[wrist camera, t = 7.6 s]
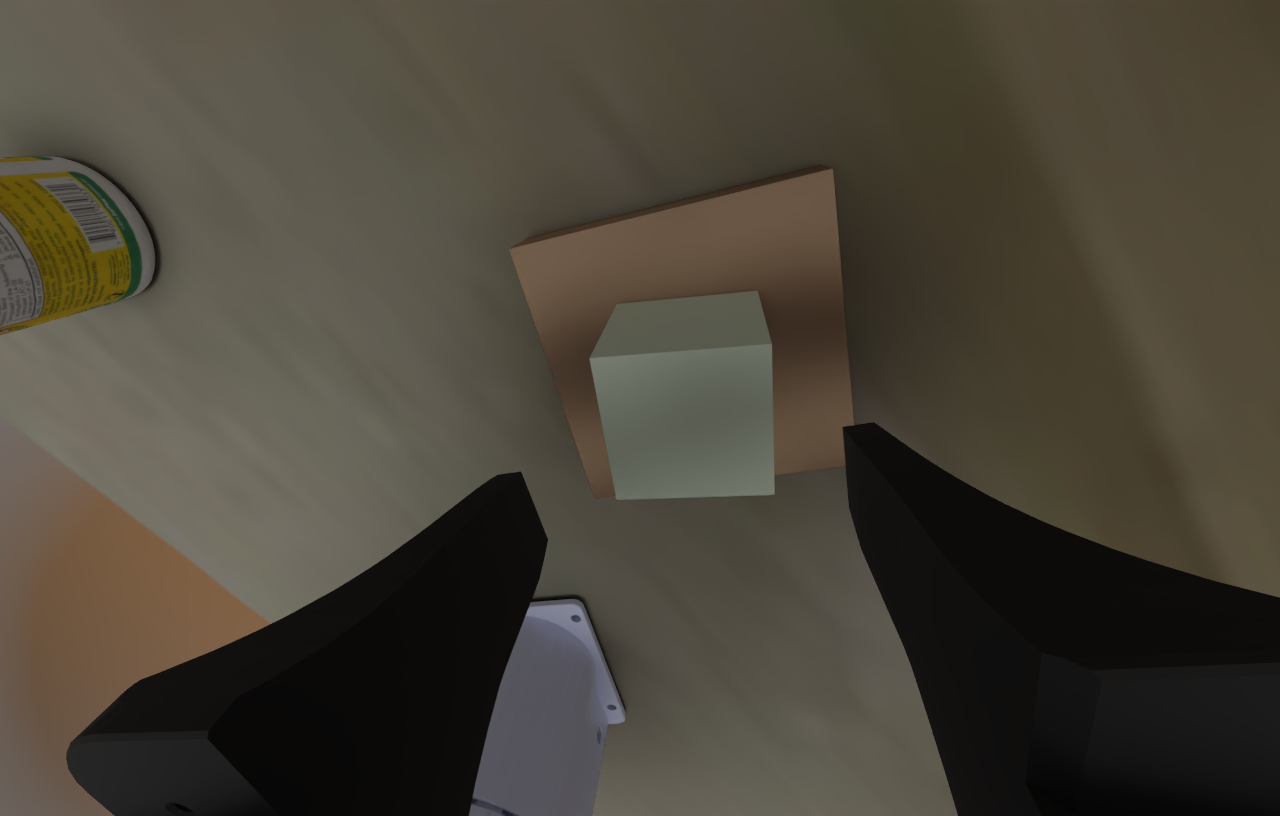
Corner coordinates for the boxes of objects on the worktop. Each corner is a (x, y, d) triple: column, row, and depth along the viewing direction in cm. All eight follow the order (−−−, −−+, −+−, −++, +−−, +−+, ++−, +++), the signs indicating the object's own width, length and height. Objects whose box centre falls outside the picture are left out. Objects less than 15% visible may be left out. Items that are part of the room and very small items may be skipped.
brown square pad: (842, 430, 21) (857, 464, 19) (606, 464, 23) (594, 498, 21) (817, 163, 17) (832, 168, 15) (532, 235, 19) (509, 248, 17)
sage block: (761, 415, 19) (774, 495, 15) (635, 422, 19) (616, 500, 15) (757, 290, 17) (771, 343, 13) (617, 303, 17) (589, 358, 13)
